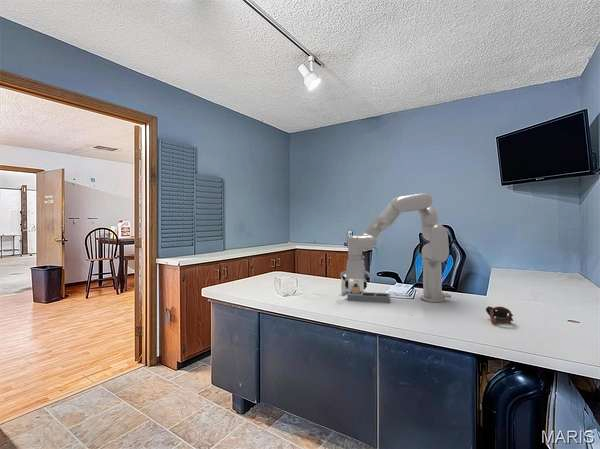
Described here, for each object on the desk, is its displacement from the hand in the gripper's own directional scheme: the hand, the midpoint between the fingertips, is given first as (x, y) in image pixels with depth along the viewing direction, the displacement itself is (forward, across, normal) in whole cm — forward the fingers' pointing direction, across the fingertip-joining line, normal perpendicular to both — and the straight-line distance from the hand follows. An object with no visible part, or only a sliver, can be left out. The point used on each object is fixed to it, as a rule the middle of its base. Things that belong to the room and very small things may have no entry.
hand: (355, 288), depth 174 cm
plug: (+6, 0, 0) cm, 6 cm away
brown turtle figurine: (+8, -64, +19) cm, 68 cm away
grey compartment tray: (+7, -7, 0) cm, 10 cm away
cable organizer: (+8, +4, -18) cm, 20 cm away
